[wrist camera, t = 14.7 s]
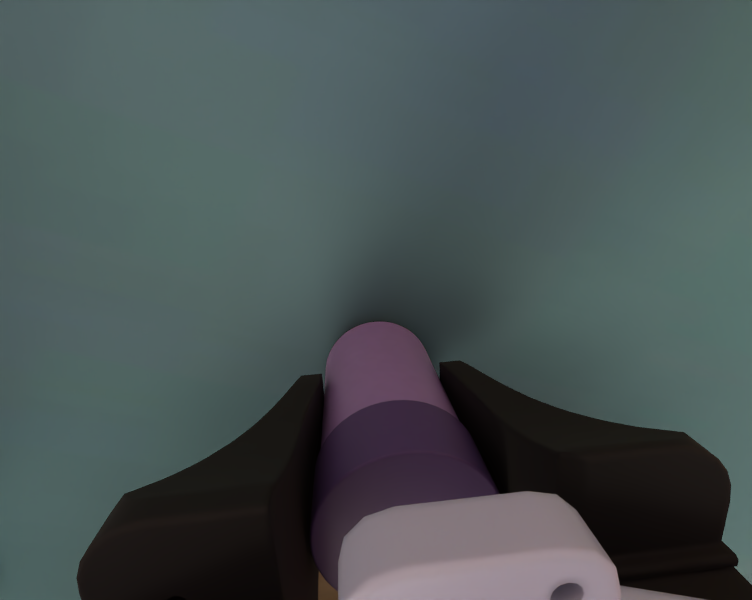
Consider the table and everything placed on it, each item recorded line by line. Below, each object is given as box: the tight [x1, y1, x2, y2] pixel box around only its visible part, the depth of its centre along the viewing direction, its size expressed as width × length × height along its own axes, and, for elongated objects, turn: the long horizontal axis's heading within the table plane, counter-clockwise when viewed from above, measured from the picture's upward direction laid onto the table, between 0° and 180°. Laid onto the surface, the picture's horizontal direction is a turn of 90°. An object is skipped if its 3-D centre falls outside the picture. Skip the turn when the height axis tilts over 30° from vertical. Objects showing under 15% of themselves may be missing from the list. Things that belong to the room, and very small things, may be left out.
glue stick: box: [309, 322, 500, 591], centre depth 11 cm, size 4×4×7 cm
